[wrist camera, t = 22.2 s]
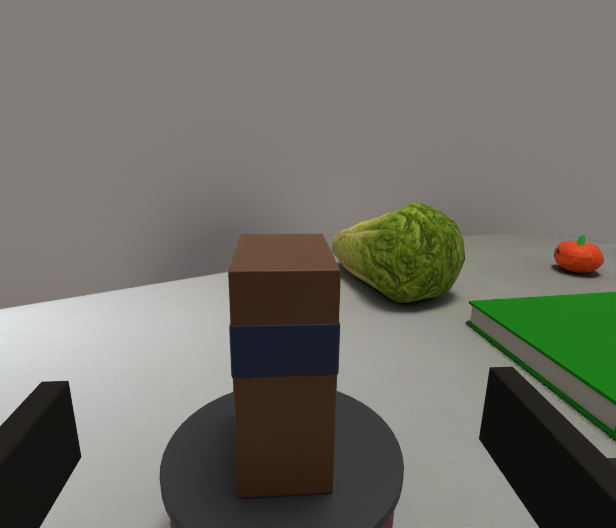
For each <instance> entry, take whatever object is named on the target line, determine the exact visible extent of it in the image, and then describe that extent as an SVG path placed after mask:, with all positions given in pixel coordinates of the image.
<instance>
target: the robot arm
mask: <svg viewBox="0 0 616 528" xmlns="http://www.w3.org/2000/svg"><path fill="white" fill-rule="evenodd" d="M479 440H480V441H481V443H482V444H483V445H484V447H485V448H486V450H487V451H488V453H489V454H490V456H491V457H492V459H493V460H494V462H495V463H496V465H497V466H498V468H499V469H500V471H501V472H502V473H503V475H504V476H505V478H506V479H507V481H508V482H509V484H510V485H511V487H512V488H513V490H514V491H515V493H516V494H517V496H518V497H519V498H520V500H521V501H522V503H523V504H524V506H525V507H526V509H527V510H528V512H529V513H530V515H531V516H532V518H533V519H534V521H535V522H536V524H537V525H538V526H539V528H616V458H606V457H605V456H604V455H603V454H602V453H601V452H600V451H599V450H598V449H597V448H596V447H595V446H594V445H593V444H592V443H591V442H590V441H589V440H588V439H587V438H586V437H585V436H583V435H582V434H581V433H580V432H579V431H578V430H577V429H576V428H575V427H574V426H573V425H572V424H571V423H570V422H569V421H568V420H567V419H566V418H565V417H564V416H563V415H562V414H561V413H560V412H559V411H558V410H557V409H556V408H555V407H554V406H552V405H551V404H550V403H549V402H548V401H547V400H546V399H545V398H544V397H543V396H542V395H541V394H540V393H539V392H538V391H537V390H536V389H535V388H534V387H533V386H532V385H531V384H530V383H529V382H528V381H527V380H526V379H525V378H524V377H523V376H521V375H520V374H519V373H518V372H517V371H516V370H515V369H514V368H513V367H490V370H489V376H488V383H487V389H486V396H485V403H484V409H483V416H482V422H481V429H480V436H479ZM80 458H81V452H80V446H79V440H78V434H77V428H76V422H75V416H74V411H73V405H72V399H71V393H70V387H69V381H50V382H41V383H40V384H39V385H38V386H37V387H36V388H35V390H34V391H33V392H32V393H31V394H30V395H29V396H28V397H27V398H26V399H25V400H24V401H23V402H22V404H21V405H20V406H19V407H18V408H17V409H16V410H15V411H14V412H13V413H12V414H11V415H10V416H9V417H8V419H7V420H6V421H5V422H4V423H3V424H2V425H1V426H0V528H40V526H41V524H42V523H43V521H44V519H45V518H46V516H47V514H48V513H49V511H50V509H51V508H52V506H53V504H54V502H55V501H56V499H57V497H58V496H59V494H60V492H61V491H62V489H63V487H64V486H65V484H66V482H67V480H68V479H69V477H70V475H71V474H72V472H73V470H74V469H75V467H76V465H77V464H78V462H79V460H80Z"/></svg>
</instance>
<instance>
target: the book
mask: <svg viewBox="0 0 616 528" xmlns="http://www.w3.org/2000/svg"><path fill="white" fill-rule="evenodd" d="M469 304H471V305H472V306H473V307H472V314H471V321H467V322H466V323H467V324H468V325H469V326H471V327H472V328H473V329H474V330H476V331H477V332H478V333H479V334H481V335H482V336H483V337H485V338H486V339H487V340H488V341H490V342H491V343H492V344H494V345H495V346H496V347H497V348H499V349H500V350H501V351H502V352H504V353H505V354H506V355H508V356H509V357H510V358H511V359H513V360H514V361H515V362H516V363H518V364H519V365H520V366H522V367H523V368H524V369H525V370H527V371H528V372H529V373H531V374H532V375H533V376H534V377H536V378H537V379H538V380H539V381H541V382H542V383H543V384H545V385H546V386H547V387H548V388H550V389H551V390H552V391H553V392H555V393H556V394H557V395H559V396H560V397H561V398H562V399H564V400H565V401H566V402H567V403H569V404H570V405H571V406H573V407H574V408H575V409H576V410H578V411H579V412H580V413H582V414H583V415H584V416H585V417H587V418H588V419H589V420H590V421H592V422H593V423H594V424H596V425H597V426H598V427H599V428H601V429H602V430H603V431H604V432H606V433H607V434H608V435H610V436H611V437H612V438H613V439H615V440H616V292H606V293H590V294H574V295H558V296H542V297H525V298H509V299H493V300H477V301H469Z"/></svg>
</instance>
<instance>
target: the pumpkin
mask: <svg viewBox="0 0 616 528" xmlns="http://www.w3.org/2000/svg"><path fill="white" fill-rule="evenodd" d="M554 252H555V253H554V258H555V260H556V263H557V264H558V265H559V266H561V267H563V268H564V269H566V270H569V271H573V272H579V273H587V272H593V271H594V270H596V269H598V268H599V267H600V266H601V265H602V264H603V262H604V258H603V255H602V253H601V251H600V249H599V248H598V247H597V246H595V245H593V244H590V243H586V242H585V238H584V235H581V236H580V237H579V240H578V242H577V241H564V242H562V243H560V244H559V245H558V246H557V248H556V249H555V251H554Z"/></svg>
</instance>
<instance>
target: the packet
mask: <svg viewBox="0 0 616 528" xmlns="http://www.w3.org/2000/svg"><path fill="white" fill-rule="evenodd" d="M228 277H229V300H230V326H229V332H230V354H231V376H232V378H233V392H234V415H235V437H236V460H237V483H238V497H239V498H252V497H271V496H290V495H308V494H327V493H332V492H333V473H334V445H335V417H336V389H337V375H338V371H339V344H340V323H339V306H340V278H341V270H340V268H339V266H338V264H337V262H336V260H335V258H334V256H333V254H332V252H331V250H330V248H329V246H328V244H327V242H326V240H325V238H324V236H323V234H241V235H240V238H239V241H238V244H237V247H236V250H235V253H234V256H233V260H232V263H231V266H230V269H229V272H228Z"/></svg>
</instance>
